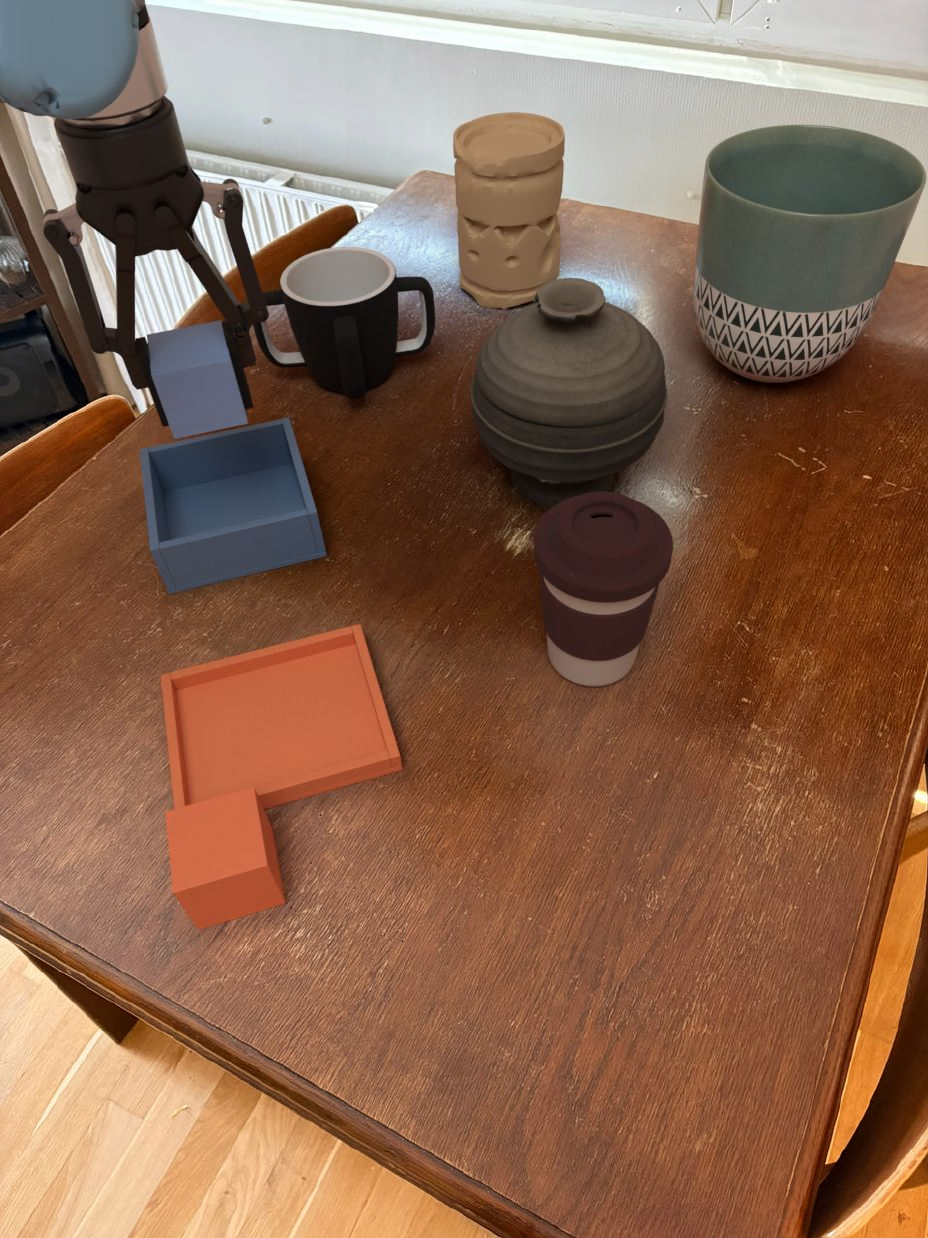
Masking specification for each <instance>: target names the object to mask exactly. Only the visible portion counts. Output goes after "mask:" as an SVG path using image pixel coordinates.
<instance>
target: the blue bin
mask: <svg viewBox="0 0 928 1238" xmlns="http://www.w3.org/2000/svg"><path fill="white" fill-rule="evenodd" d="M139 459H140V467H141V476H142V487H143V497H144V504H145V505H144V507H145V515H146V524H147V534H148V543H149V551H150V554H151V557H152V558H153V561H154V563H155V566H156V568H157V570H158V572H159V575H160V577H161V579H162V581H163V584H164V586H165V588H166V590H167V593H168V595H172V594H177V593H181V592H184V591H185V592H186V591H188V590H193V589H197V588H202V587H205V586H210V585H215V584H218V583H222V582H227V581H230V580H234V579H238V578H242V577H247V576H250V575H255V574H259V573H263V572H267V571H272V570H275V569H276V570H277V569H280V568H283V567H288V566H292V565H297V564H299V563H300V564H301V563H304V562H310V561H312V560H317V559H320V558H326V557H328V555H327V553H328V552H327V549H326V545H325V541H324V536H323V532H322V528H321V523H320V518H319V514H318V510H317V506H316V503H315V499H314V496H313V493H312V490H311V486H310V483H309V479H308V476H307V472H306V469H305V466H304V462H303V458H302V456H301V452H300V448H299V446H298V442H297V438H296V434H295V431H294V428H293V424H292V421H291V417H290V416H288V417H283V418H279V419H275V420H269V421H266V422H260V423H256V424H251V425H246V426H242V427H237V428H233V429H227V430H224V431H223V430H222V431H220V432H219V431H218V432H215V433H209V434H205V435H200V436H195V437H191V438H186V439H182V440H177V441H172V442H167V443H163V444H159V445H154V446H150V447H144V448H140V449H139Z"/></svg>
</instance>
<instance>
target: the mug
mask: <svg viewBox="0 0 928 1238" xmlns="http://www.w3.org/2000/svg"><path fill="white" fill-rule="evenodd" d="M279 285H280V289H275V290H269V291H264V292H263V295H264V299H265V302H266V306H267V307H271V306H280V305H281V306H282V305H284V309H285V311H286V316H287V319H288V322H289V325H290V329H291V331H292V333H293V337H294V339H295V341H296V344H297V347H298V349H299V351H295V352H282V351H280V350H279V349H278V348H277V347H276V345H275V344H274V343H273V340H272V338H271V334H270V331H269V330H270V329H269V327H268V323H267V320H266V321H265V322H257V323H255V324H253V325H252V327H253V330H254V334H255V335H254V336H255V337H256V341H257V344H258V346H259V348H260V350H261V352H262V354H263V355H264V357H266V359H267V360H268V362H270V363H271V364H273V365H274V366H275V367H278V368H281V369H282V368H283V369H291V368H292V369H293V368H307V369H308V371H309V373H310V374H311V376H312V377H313V379H314V380H315V382H316V383H318V385H320V386H321V387H323V388H324V389H327V390H330V391H334V392H338V393H344V396H345V397H346V398H348V399H350V400H351V399H352V400H355V399H356V400H357V399H361V398H364V397H365V396H366V394H367V390H370V389H372V388H374V387H376V386H379V385H381V384H382V383H383V382H384V381H385V380H387V379H388V377H389V376H390V375H391V373H392V370H393V368H394V364H395V360H396V358H399V357H406V356H412V355H417V354H420V353H422V352H424V351H425V350H426V349H427V348H428V347H429V345H430V343H431V342H432V339H433V336H434V334H435V330H436V329H435V328H436V305H435V295H434V289H433V287H432V285H431V284H430V282H429V281H428V279H426V278H425V277H423V276H397V269H396V266H395V264H394V262H393V261H392V260H391V259H390V258H389V257H388V256H386V255H385V254H383V253H381V252H378V251H375V250H372V249H369V248H366V247H365V248H364V247H358V246H338V247H337V246H336V247H329V248H324V249H320V250H316V251H312V252H310V253H307V254H305V255H303V256H301V257H299V258H298V259H296V260H294V261H292V262H291V263H290V264H289V265H288V266H287V267H286V268H285V269H284V271H283V272H282V273H281V276H280V280H279ZM414 291H415V292H418V293H419V299H420V309H421V310H420V311H421V329H420V331H419V333H418V335H417V336H416V337H415V338H411V339H406V340H398V334H399V293H404V292H405V293H406V292H414Z"/></svg>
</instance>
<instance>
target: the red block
mask: <svg viewBox="0 0 928 1238" xmlns="http://www.w3.org/2000/svg"><path fill="white" fill-rule="evenodd" d="M164 814H165V825H166V835H167V847H168V856H169V864H170V865H169V866H170V867H169V868H170V876H171V878H170V879H171V888H172V889H171V890H172V894H173V895H174V897H175V898H176V900H177V902H178V903H179V904H180V906H181V907H182V909H183V910H184V911H185V913H186V914H187V916H188V917H189V919H190V920H191V922H192V923H193V924H194V926H195V927H196V929H197V931H200V930H204V929H207V928H210V927H213V926H216V925H221V924H223V923H226V922H230V921H233V920H236V919H239V918H243V917H246V916H250V915H252V914H255V913H256V914H257V913H259V912H263V911H266V910H269V909H272V908H276V907H279V906H282V905H285V904H286V896H285V892H284V886H283V880H282V875H281V870H280V863H279V858H278V853H277V846H276V842H275V836H274V831H273V827H272V825H271V822H270V820H269V818H268V815H267V813H266V810H265V809H264V808H263V806H262V804H261V801H260V799H259V797H258V794H257V792H256V790H255V787H251V788H247V789H244V790H240V791H237V792H233V793H230V794H226V795H222V796H219V797H215V798H212V799H208V800H205V801H201V802H197V803H194V804H190V805H187V806H183V807H180V808H176V809H174V808H172V809H169V810H165V812H164Z"/></svg>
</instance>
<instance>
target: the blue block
mask: <svg viewBox="0 0 928 1238" xmlns="http://www.w3.org/2000/svg"><path fill="white" fill-rule="evenodd" d="M221 322H223V320H216V321H215V320H214V321H210V322H205V323H199V324H195V325H194V324H193V325H190V326H184V327H180V328H173V329H169V330H164V331H158V332H154V333H148V334H146V341H147V344H148V349H149V357H150V368H151V376H152V379H153V382H154V384H155V387H156V390H157V393H158V396H159V398H160V401H161V404H162V407H163V409H164V412H165V415H166V418H167V420H168V423H169V428H170V432H171V434H172V437H173V439H174V440H176V439H177V440H178V439H183V438H187V437H191V436H196V435H200V434H205V433H210V432H215V431H219V430H220V431H221V430H225V429H229V428H234V427H239V426H243V425H248V424H249V419H248V416H247V412H246V409H245V408H244V404H243V400H242V397H241V393H240V390H239V386H238V382H237V379H236V375H235V372H234V368H233V364H232V361H231V357H230V354H229V350H228V348H227V344H226V341H225V336H224V332H223V328H222V323H221Z"/></svg>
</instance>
